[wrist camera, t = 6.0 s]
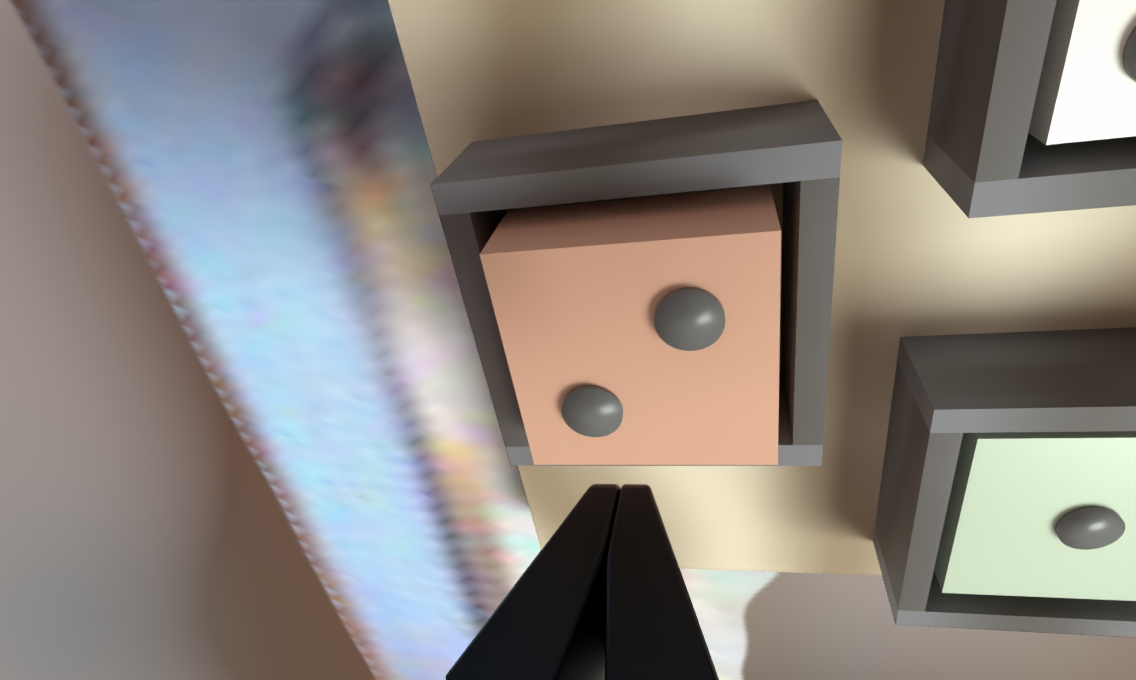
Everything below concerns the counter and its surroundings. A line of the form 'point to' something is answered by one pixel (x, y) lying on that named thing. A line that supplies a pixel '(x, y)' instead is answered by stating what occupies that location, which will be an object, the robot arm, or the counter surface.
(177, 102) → the counter surface
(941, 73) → the button board
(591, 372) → the terracotta tile
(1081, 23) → the cream tile
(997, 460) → the sage tile
